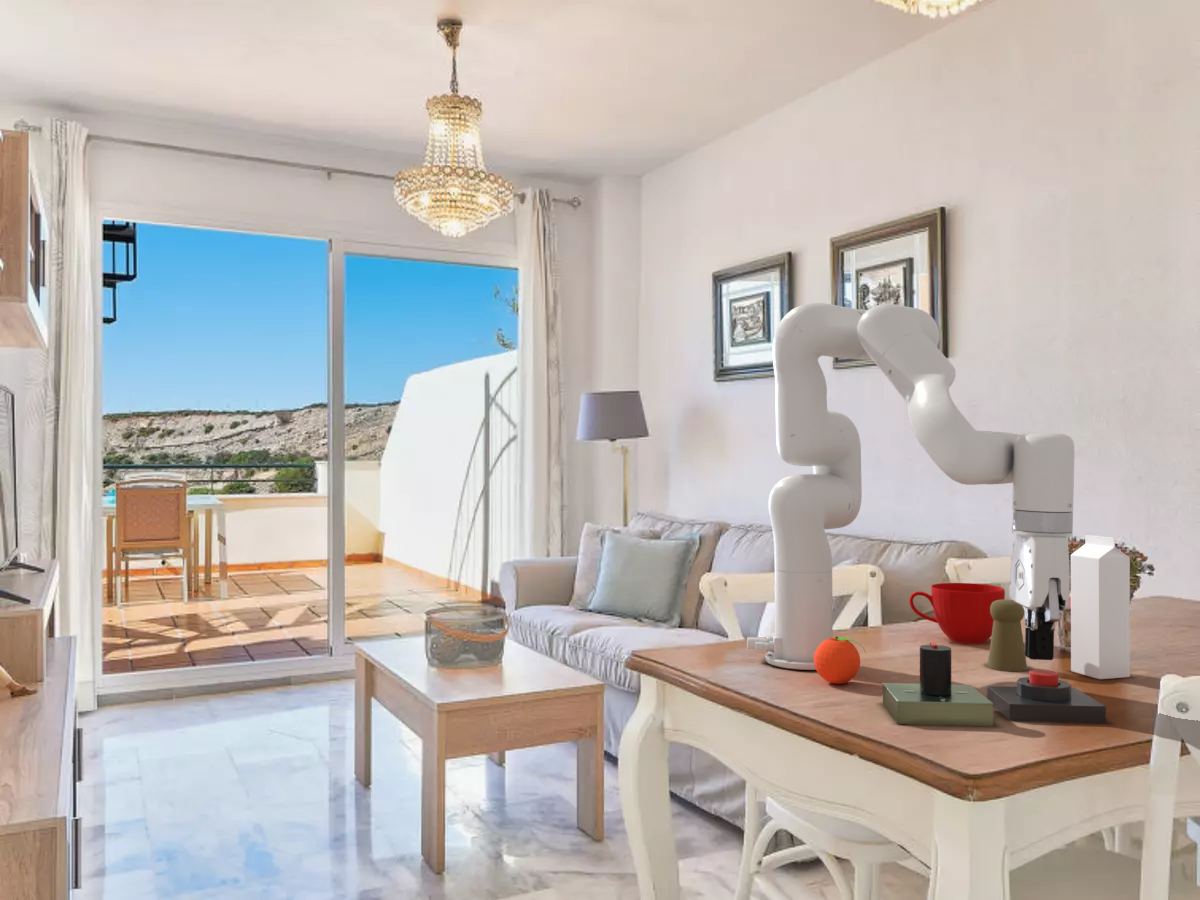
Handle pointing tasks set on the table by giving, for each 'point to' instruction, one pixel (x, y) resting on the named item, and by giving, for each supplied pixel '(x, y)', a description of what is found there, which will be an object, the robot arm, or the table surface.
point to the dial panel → (937, 706)
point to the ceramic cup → (962, 610)
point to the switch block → (1045, 703)
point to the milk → (1100, 609)
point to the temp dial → (935, 669)
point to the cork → (1007, 637)
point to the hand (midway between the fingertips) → (1039, 658)
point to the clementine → (837, 660)
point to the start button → (1043, 677)
